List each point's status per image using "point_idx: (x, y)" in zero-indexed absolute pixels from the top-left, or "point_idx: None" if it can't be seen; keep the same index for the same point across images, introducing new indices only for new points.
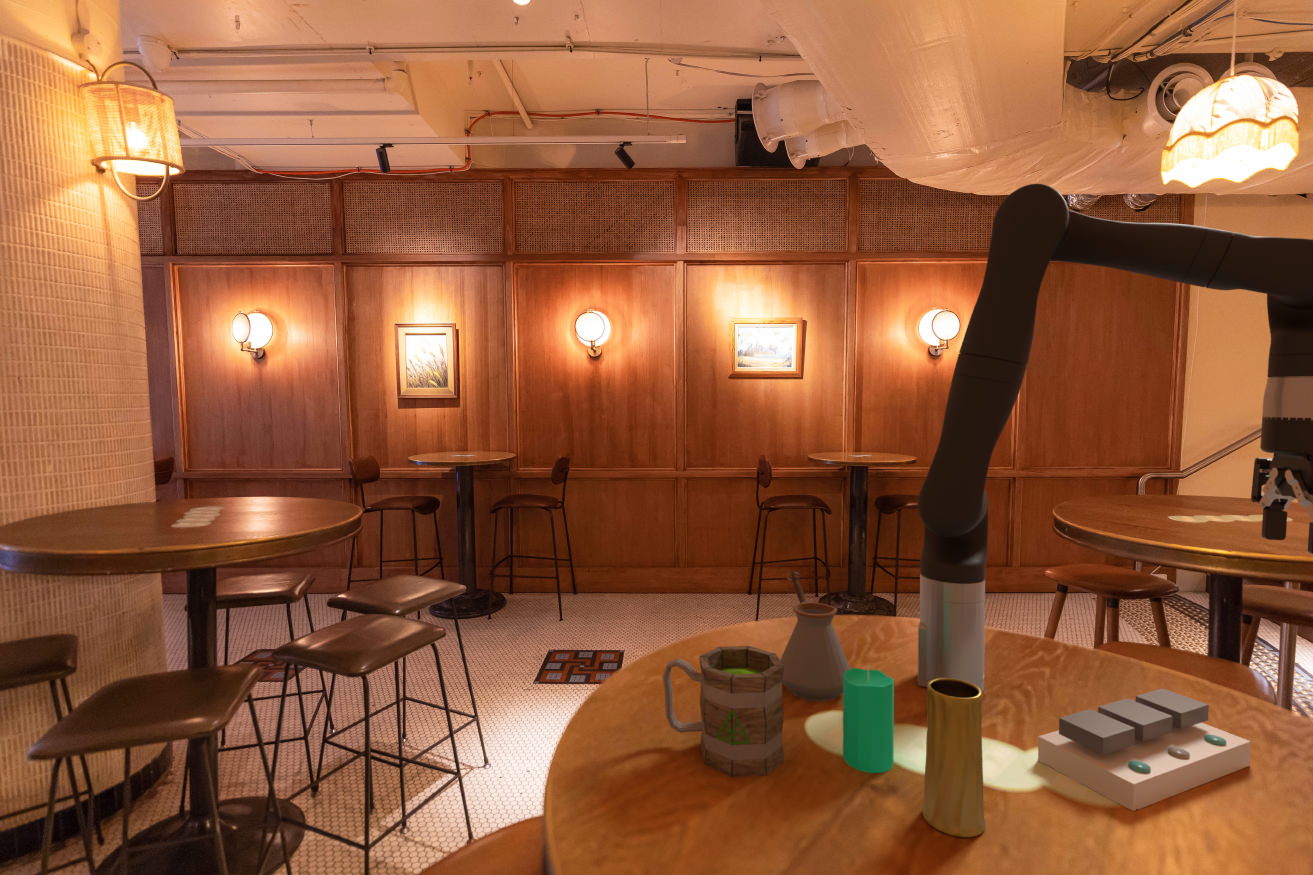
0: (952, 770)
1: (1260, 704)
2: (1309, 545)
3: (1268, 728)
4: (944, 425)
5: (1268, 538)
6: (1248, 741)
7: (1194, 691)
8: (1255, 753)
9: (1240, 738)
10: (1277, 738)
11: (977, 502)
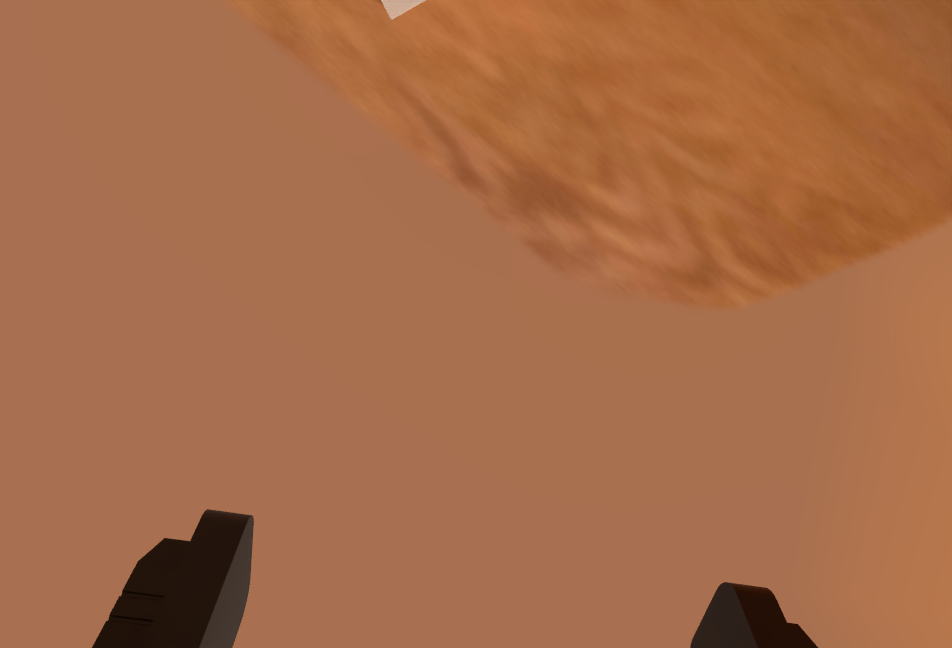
0: None
1: (725, 307)
2: (221, 547)
3: (597, 223)
4: None
5: (720, 591)
6: (388, 11)
7: (822, 194)
8: (464, 83)
9: (407, 3)
10: (545, 203)
11: None
